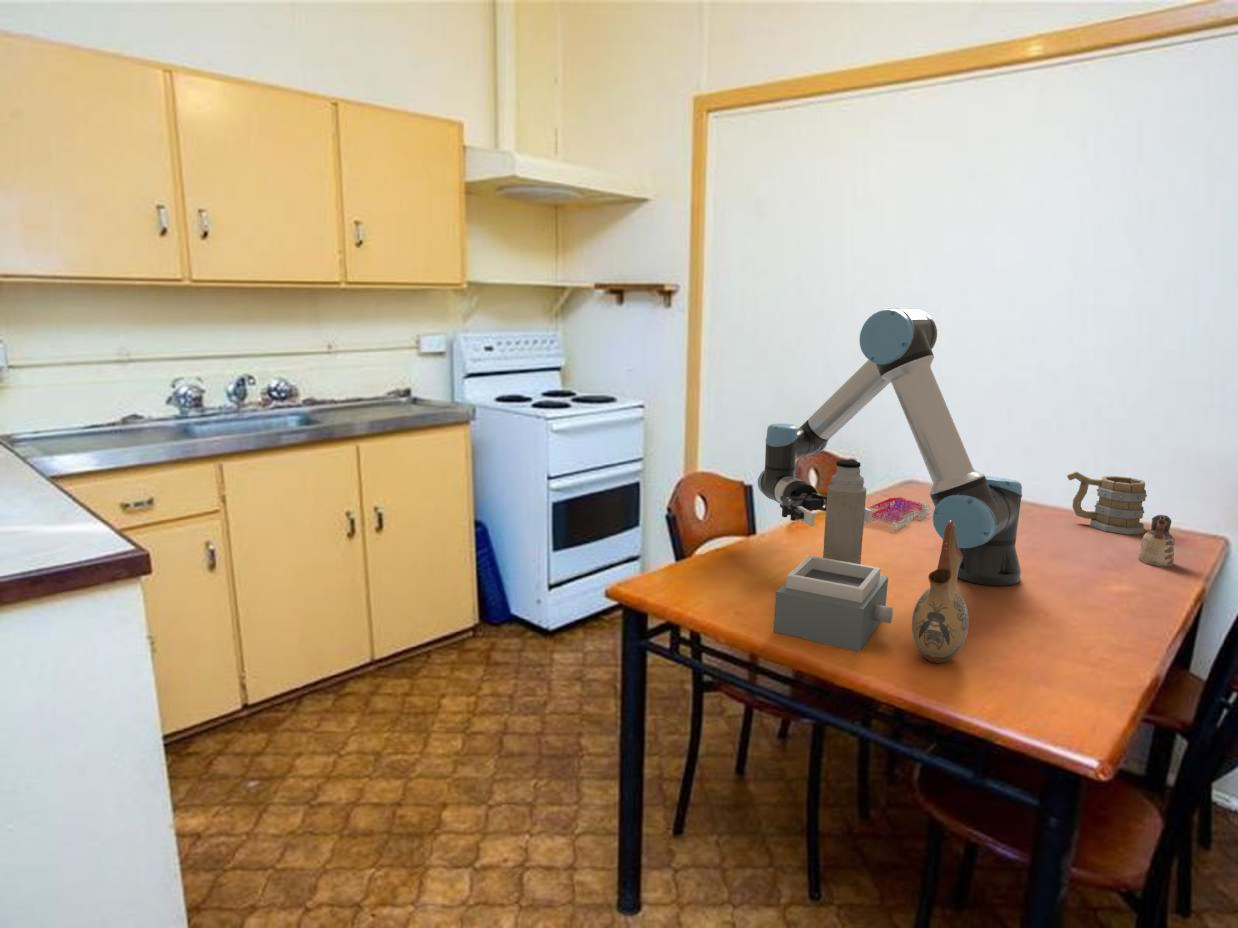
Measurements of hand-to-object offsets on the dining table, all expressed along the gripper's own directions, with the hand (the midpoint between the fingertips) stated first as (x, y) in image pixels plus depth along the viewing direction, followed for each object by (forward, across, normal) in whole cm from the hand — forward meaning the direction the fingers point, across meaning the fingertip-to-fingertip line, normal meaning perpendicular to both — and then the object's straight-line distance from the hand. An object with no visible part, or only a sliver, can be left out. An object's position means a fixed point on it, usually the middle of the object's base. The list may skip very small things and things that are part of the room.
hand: (841, 518), depth 167 cm
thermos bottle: (0, 0, -16) cm, 16 cm away
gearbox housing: (+19, +10, -16) cm, 27 cm away
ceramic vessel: (+36, +1, -16) cm, 39 cm away
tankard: (-29, -100, -16) cm, 105 cm away
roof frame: (-48, -46, -16) cm, 68 cm away
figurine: (+1, -86, -16) cm, 87 cm away
